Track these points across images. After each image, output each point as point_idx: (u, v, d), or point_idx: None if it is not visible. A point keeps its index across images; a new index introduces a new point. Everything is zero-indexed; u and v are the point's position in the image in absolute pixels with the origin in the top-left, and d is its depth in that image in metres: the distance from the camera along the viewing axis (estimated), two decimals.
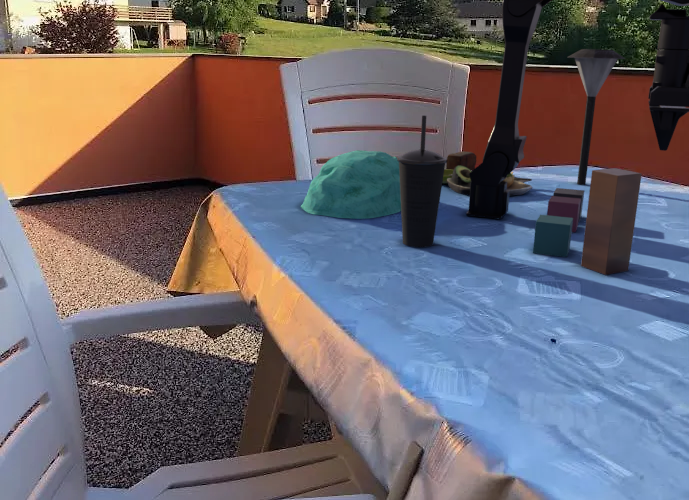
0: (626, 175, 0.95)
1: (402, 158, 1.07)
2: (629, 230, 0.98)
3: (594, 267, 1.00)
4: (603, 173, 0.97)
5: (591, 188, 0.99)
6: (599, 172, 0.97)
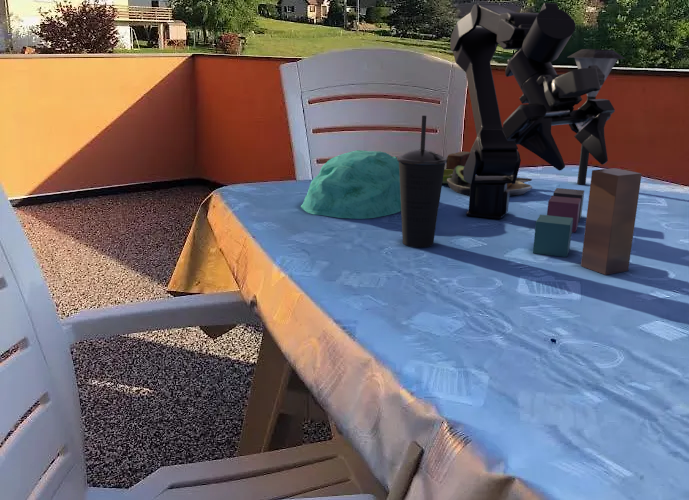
0: (626, 175, 0.95)
1: (402, 158, 1.07)
2: (629, 230, 0.98)
3: (594, 267, 1.00)
4: (603, 173, 0.97)
5: (591, 188, 0.99)
6: (599, 172, 0.97)
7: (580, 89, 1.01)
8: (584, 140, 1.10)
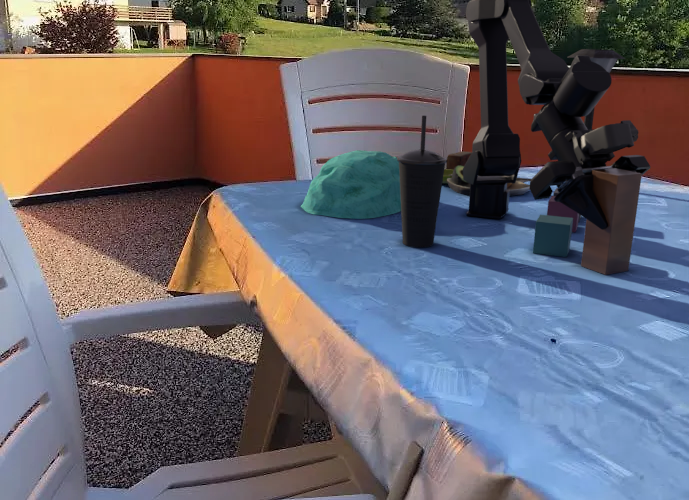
0: (626, 175, 0.95)
1: (402, 158, 1.07)
2: (629, 230, 0.98)
3: (594, 267, 1.00)
4: (603, 173, 0.97)
5: None
6: (599, 172, 0.97)
7: (612, 145, 0.95)
8: None
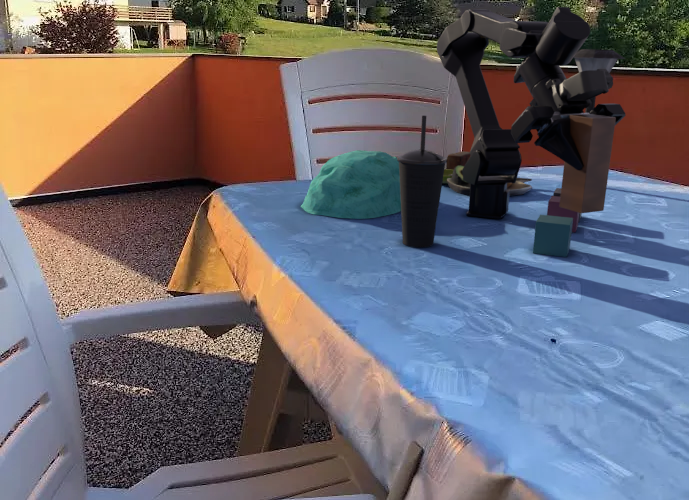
0: (601, 118, 1.02)
1: (402, 158, 1.07)
2: (603, 171, 1.05)
3: (571, 207, 1.07)
4: (580, 117, 1.03)
5: None
6: (576, 116, 1.04)
7: (587, 90, 1.02)
8: None
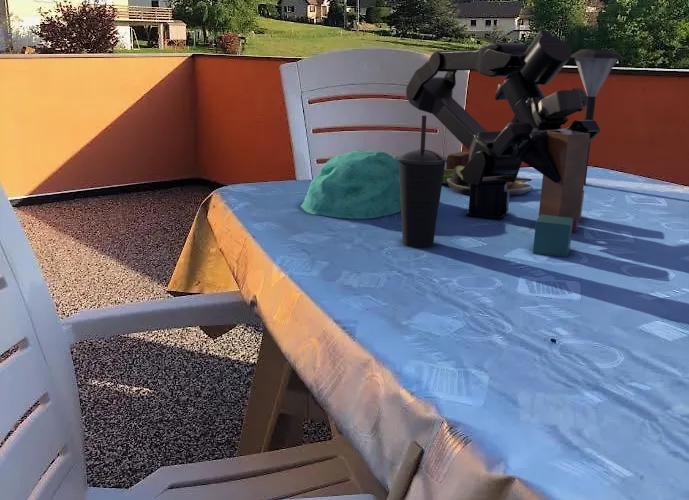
0: (576, 134, 1.10)
1: (402, 158, 1.07)
2: (579, 183, 1.13)
3: None
4: (556, 133, 1.11)
5: None
6: (553, 132, 1.12)
7: (563, 109, 1.09)
8: None
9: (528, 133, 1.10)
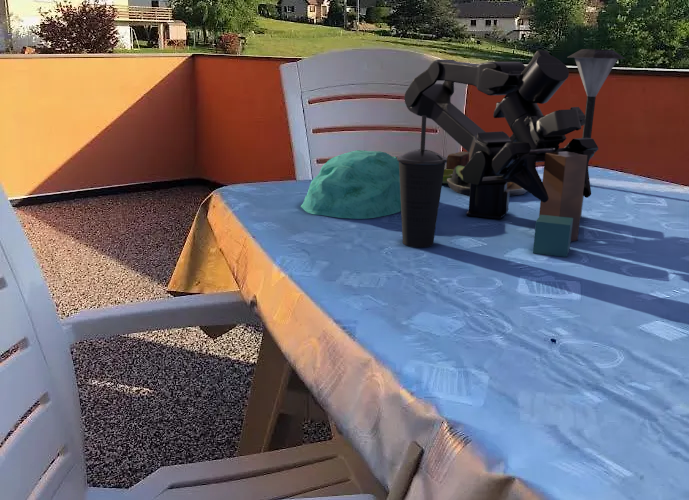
0: (573, 156, 1.11)
1: (402, 158, 1.07)
2: (577, 205, 1.14)
3: None
4: (554, 155, 1.12)
5: (544, 168, 1.14)
6: (551, 154, 1.13)
7: (561, 128, 1.10)
8: None
9: (526, 152, 1.11)
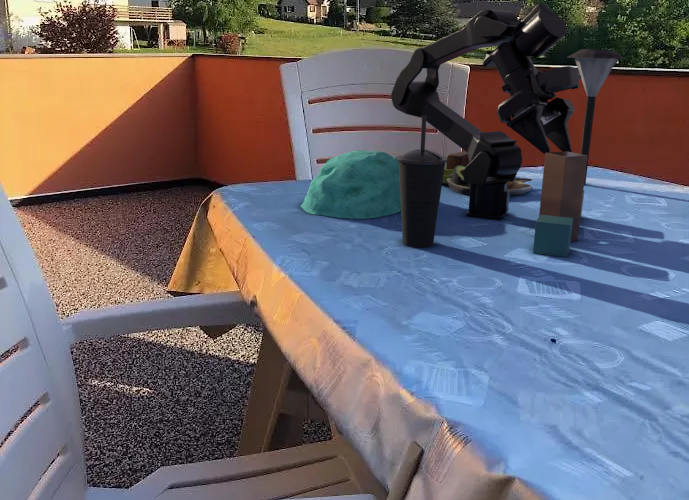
0: (573, 156, 1.11)
1: (402, 158, 1.07)
2: (577, 205, 1.14)
3: None
4: (554, 155, 1.12)
5: (544, 168, 1.14)
6: (551, 154, 1.13)
7: (568, 84, 1.14)
8: (549, 132, 1.24)
9: (537, 102, 1.13)
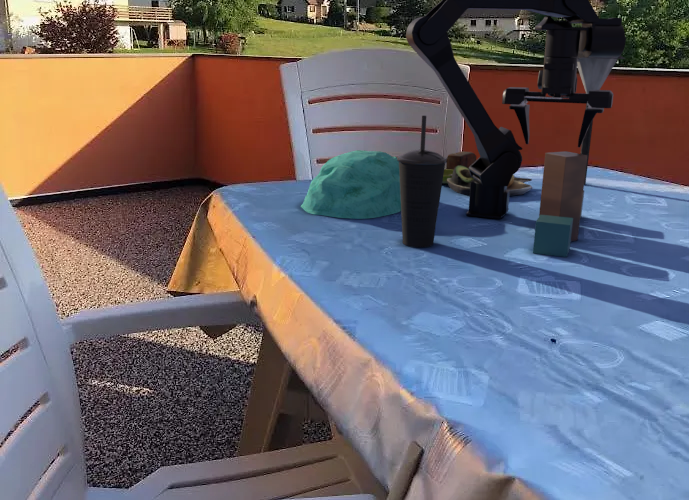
0: (573, 156, 1.11)
1: (402, 158, 1.07)
2: (577, 204, 1.14)
3: None
4: (554, 155, 1.12)
5: (544, 168, 1.14)
6: (551, 154, 1.13)
7: None
8: (526, 116, 1.29)
9: None
